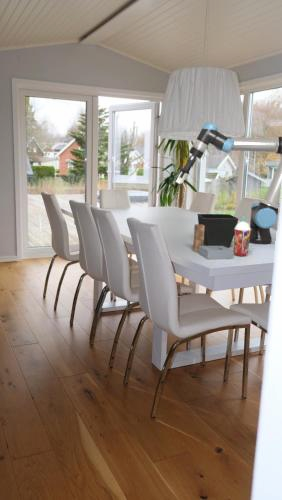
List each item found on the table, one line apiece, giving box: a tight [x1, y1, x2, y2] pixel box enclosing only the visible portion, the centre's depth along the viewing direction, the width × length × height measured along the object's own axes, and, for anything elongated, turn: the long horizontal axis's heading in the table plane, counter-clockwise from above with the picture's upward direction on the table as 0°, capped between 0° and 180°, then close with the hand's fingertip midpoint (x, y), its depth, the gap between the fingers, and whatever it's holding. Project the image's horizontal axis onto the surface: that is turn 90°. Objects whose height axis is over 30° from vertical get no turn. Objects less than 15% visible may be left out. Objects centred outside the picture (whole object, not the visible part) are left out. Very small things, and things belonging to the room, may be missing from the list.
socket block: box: [197, 245, 234, 260], centre depth 222 cm, size 13×13×4 cm
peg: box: [192, 223, 205, 253], centre depth 231 cm, size 4×4×14 cm
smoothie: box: [233, 215, 251, 257], centre depth 225 cm, size 8×8×20 cm
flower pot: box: [197, 213, 239, 248], centre depth 249 cm, size 19×19×17 cm
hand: (178, 182), depth 254 cm, fingers open, 13 cm apart
